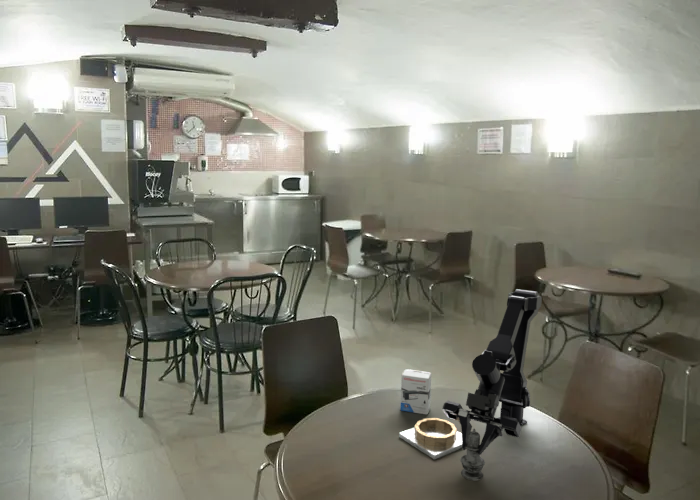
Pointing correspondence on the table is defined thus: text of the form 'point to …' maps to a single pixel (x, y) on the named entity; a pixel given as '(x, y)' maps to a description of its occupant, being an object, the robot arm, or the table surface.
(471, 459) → the grey stone tall piece
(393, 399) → the table surface
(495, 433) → the robot arm
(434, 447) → the socket plate
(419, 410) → the ink box
